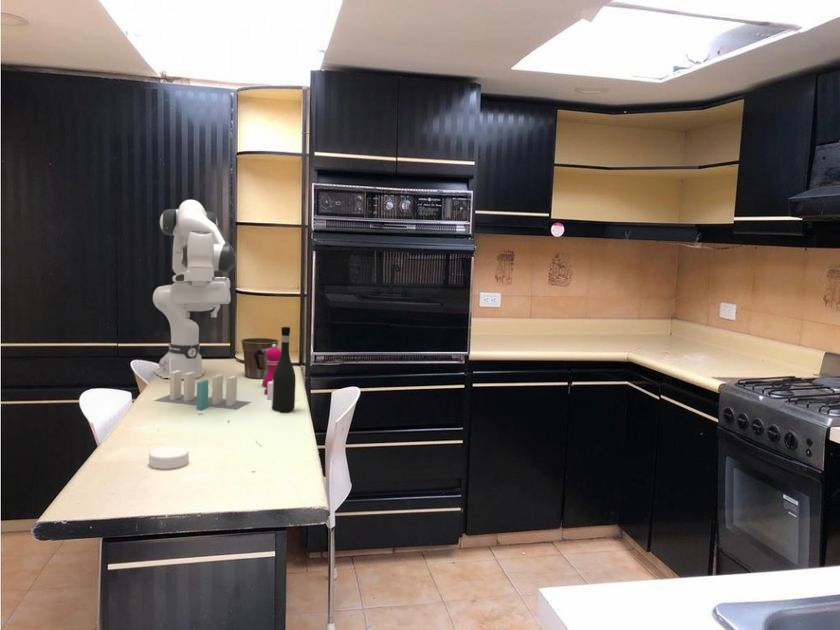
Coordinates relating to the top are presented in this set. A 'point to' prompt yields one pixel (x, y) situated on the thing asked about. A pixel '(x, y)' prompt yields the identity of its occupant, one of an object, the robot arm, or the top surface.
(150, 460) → the coaster
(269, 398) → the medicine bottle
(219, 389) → the ivory domino
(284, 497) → the top surface
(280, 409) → the wine bottle
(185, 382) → the ivory domino
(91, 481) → the top surface
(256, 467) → the top surface
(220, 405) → the slate mat
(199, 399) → the teal domino
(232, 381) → the ivory domino
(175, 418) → the top surface
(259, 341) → the plant pot
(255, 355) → the coffeepot
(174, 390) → the ivory domino
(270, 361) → the pepper mill
